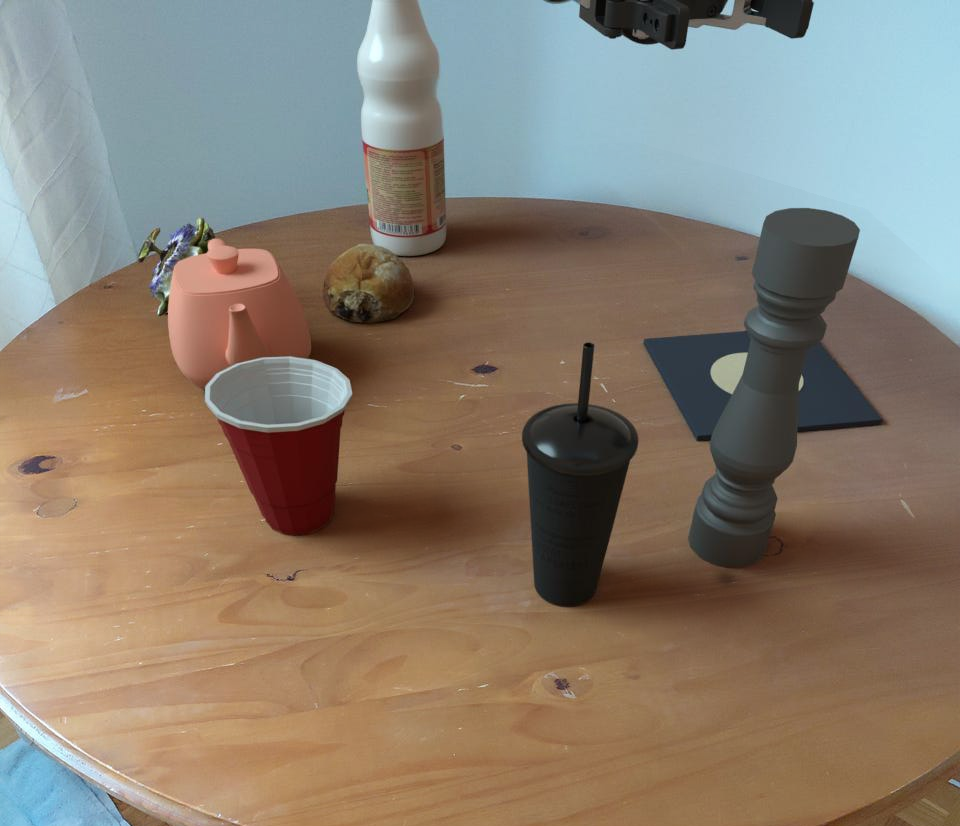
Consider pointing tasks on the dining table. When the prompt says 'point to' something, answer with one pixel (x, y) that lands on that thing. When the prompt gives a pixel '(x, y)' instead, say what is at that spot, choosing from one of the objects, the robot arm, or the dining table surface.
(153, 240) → the passion flower
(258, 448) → the plastic cup
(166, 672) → the dining table surface
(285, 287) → the teapot
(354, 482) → the dining table surface
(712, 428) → the placemat
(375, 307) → the bread roll
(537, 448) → the drinking cup
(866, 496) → the dining table surface
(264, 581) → the dining table surface
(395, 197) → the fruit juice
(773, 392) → the candle holder
